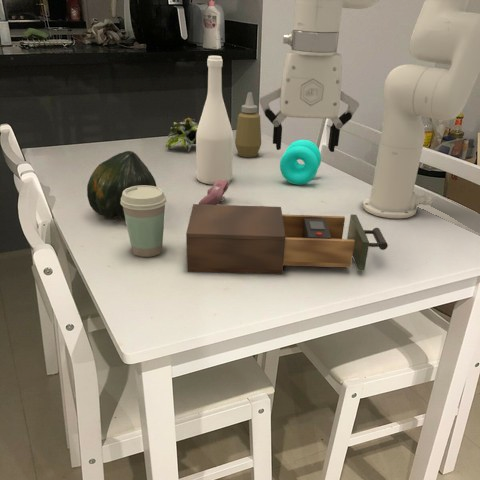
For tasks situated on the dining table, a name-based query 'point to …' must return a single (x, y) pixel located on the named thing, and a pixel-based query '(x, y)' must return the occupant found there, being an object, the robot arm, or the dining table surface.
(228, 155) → the wine bottle
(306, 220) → the red button box
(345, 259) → the drawer
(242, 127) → the squeeze bottle
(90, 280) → the dining table surface
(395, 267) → the dining table surface
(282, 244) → the cabinet
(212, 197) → the video game controller
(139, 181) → the squash
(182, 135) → the green leafy plant
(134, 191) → the coffee cup
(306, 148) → the donuts
